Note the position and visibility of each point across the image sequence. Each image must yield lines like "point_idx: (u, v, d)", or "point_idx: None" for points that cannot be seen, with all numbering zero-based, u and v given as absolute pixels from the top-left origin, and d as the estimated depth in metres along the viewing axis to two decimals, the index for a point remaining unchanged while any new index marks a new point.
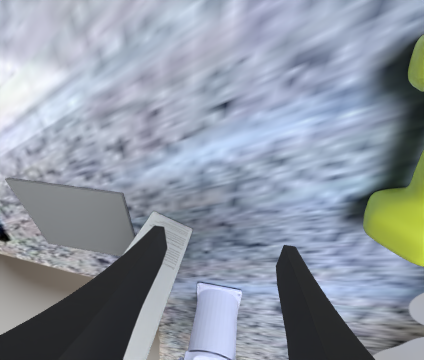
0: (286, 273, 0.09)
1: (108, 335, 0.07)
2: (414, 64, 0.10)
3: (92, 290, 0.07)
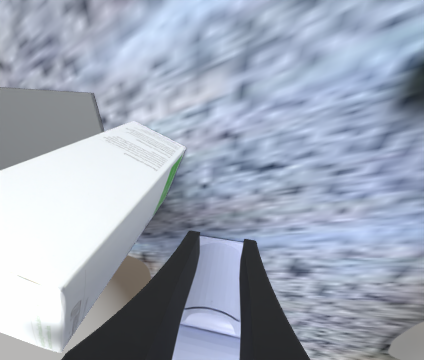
0: (243, 266, 0.09)
1: (163, 348, 0.07)
2: None
3: (146, 302, 0.07)
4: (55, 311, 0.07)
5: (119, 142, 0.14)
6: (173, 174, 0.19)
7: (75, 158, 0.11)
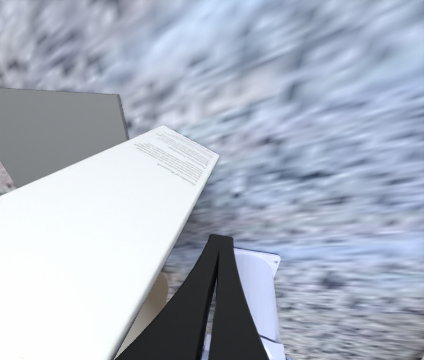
0: (218, 261, 0.10)
1: (198, 356, 0.06)
2: None
3: (181, 309, 0.06)
4: None
5: (151, 150, 0.12)
6: None
7: (104, 171, 0.09)
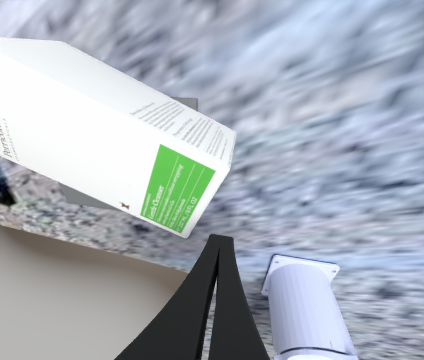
0: (218, 261, 0.10)
1: (198, 356, 0.06)
2: None
3: (180, 309, 0.06)
4: None
5: (173, 106, 0.13)
6: (186, 188, 0.12)
7: (127, 80, 0.13)
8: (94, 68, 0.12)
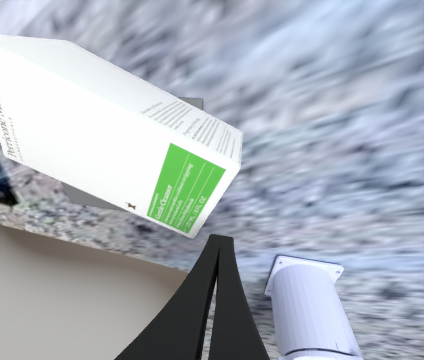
0: (218, 261, 0.10)
1: (198, 356, 0.06)
2: None
3: (180, 309, 0.06)
4: None
5: (180, 106, 0.13)
6: (195, 188, 0.12)
7: (134, 80, 0.13)
8: (101, 67, 0.12)
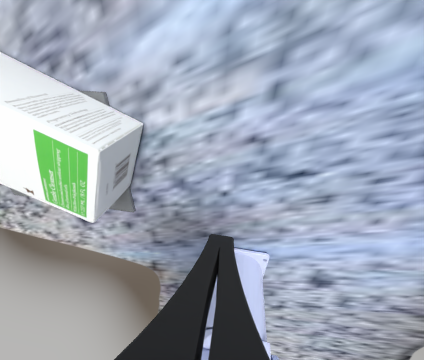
0: (218, 261, 0.10)
1: (198, 356, 0.06)
2: None
3: (180, 309, 0.06)
4: None
5: (72, 98, 0.14)
6: (71, 172, 0.13)
7: (29, 74, 0.14)
8: None
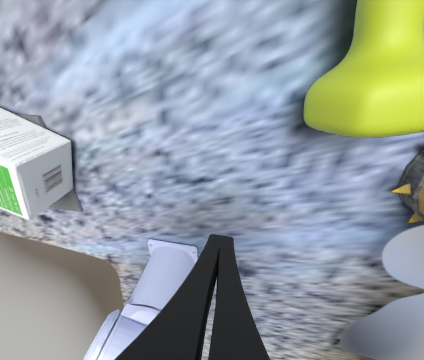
0: (218, 261, 0.10)
1: (198, 356, 0.06)
2: None
3: (180, 309, 0.06)
4: None
5: (7, 122, 0.18)
6: (0, 181, 0.17)
7: None
8: None
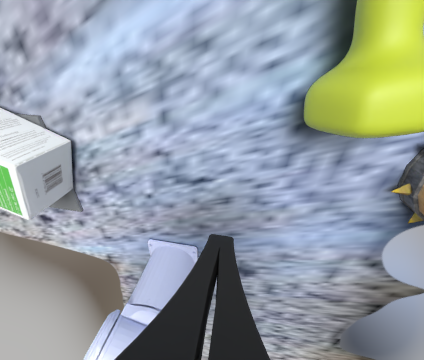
0: (218, 261, 0.10)
1: (198, 356, 0.06)
2: None
3: (180, 309, 0.06)
4: None
5: (7, 122, 0.18)
6: (0, 181, 0.17)
7: None
8: None
